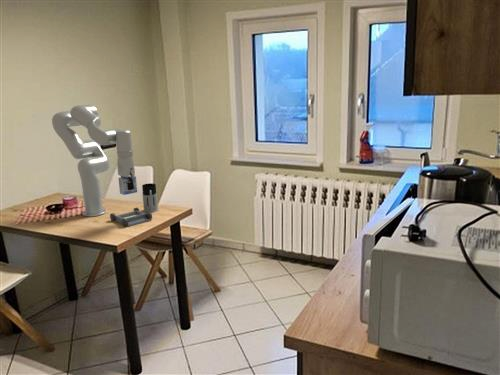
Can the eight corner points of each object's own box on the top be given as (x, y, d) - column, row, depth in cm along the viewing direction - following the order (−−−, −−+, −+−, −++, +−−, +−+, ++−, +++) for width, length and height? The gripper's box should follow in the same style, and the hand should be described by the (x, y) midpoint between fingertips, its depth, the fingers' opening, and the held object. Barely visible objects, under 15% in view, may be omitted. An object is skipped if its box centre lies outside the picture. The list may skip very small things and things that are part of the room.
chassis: (110, 220, 224) (109, 213, 223) (136, 213, 235) (135, 206, 234) (126, 227, 213) (125, 219, 212) (152, 220, 223) (151, 212, 222)
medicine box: (123, 195, 216) (121, 178, 214) (119, 193, 219) (118, 177, 217) (137, 192, 221) (136, 176, 219) (133, 190, 224) (132, 175, 222)
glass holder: (157, 207, 246) (155, 182, 242) (160, 214, 233) (158, 188, 229) (142, 209, 243) (140, 184, 240) (144, 216, 230) (142, 189, 227)
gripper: (110, 153, 218) (114, 187, 223) (126, 157, 207) (130, 193, 211) (123, 151, 224) (126, 185, 228) (140, 155, 212) (143, 190, 216)
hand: (128, 188), depth 219 cm, fingers closed on medicine box, 4 cm apart
